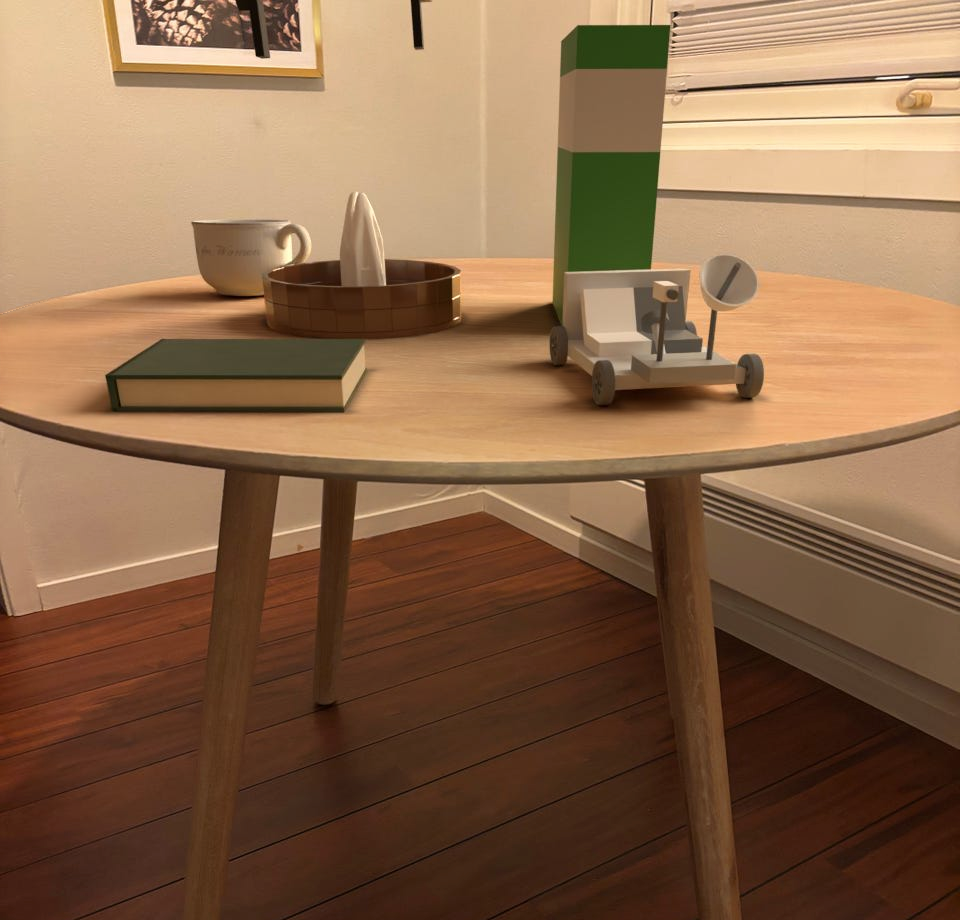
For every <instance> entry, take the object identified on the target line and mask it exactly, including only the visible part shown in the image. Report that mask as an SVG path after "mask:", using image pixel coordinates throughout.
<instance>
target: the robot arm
mask: <svg viewBox="0 0 960 920" xmlns="http://www.w3.org/2000/svg"><path fill="white" fill-rule="evenodd" d="M432 2H433V0H410V11H411V13H410V14H411V26H412V39H413V48H414V50H415V51H422V50H425V41H424V40H425V39H424V30H423V29H424V27H423V26H424V25H423V11H422V3H432ZM235 5H236V7H237V9H238V11H239V12H241V13H242V14H246V13H249V18H250V25H251V33H252V40H253V45H254V54H255V55H254V56H255V57H256V58H258V59H261V60H262V59H263V60H264V59H265V60H266V59H271V53H270V44H269V38H268V37H269V36H268V29H267V22H266V15H265V7H264V0H235Z"/></svg>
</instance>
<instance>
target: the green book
mask: <svg viewBox="0 0 960 920" xmlns="http://www.w3.org/2000/svg"><path fill="white" fill-rule="evenodd" d="M365 344H366V339H325V338H161V339H159V340H157V341H156V342H154V343H153V344H151V345H150V346H148V347H146V348H145V349H143V350H141V352H139V353H137V354H135V355H134V356H132V357H131V358H129V359H128V360H126V361H125V362H123V363H122V364H119V366H117V367H115V368H113V369H112V370H111V371H109V372H108V373H106V374H104V377H105V380H106V386H107V392H108V397H109V402H110V407H111V408H110V409H111V412H113V413H116V412H117V413H126V412H127V413H134V412H135V413H139V412H140V413H166V412H167V413H345V412H346V410H347V408H348V406H349V404H350V402H351V401H352V399H353V397H354V396H355V394H356V392H357V390H358V388H359V386H360V385H361V383H362V381H363V379H364V377H365V376H366V374H367V371H368V368H367V367H366V354H365V353H366V352H365Z"/></svg>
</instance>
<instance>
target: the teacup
mask: <svg viewBox="0 0 960 920" xmlns="http://www.w3.org/2000/svg"><path fill="white" fill-rule="evenodd" d="M190 223H191V224H190V225H191V227H192V230H193V238H194V246H195V254H196V260H197V266H198V270H199V274H200V276H201V278H202V279H203V281H204V282H205V283H206V284H207V285H209V286H210V287H212V288H213V289H214V291H215V292H216V293H217V294H219V295H223V296H235V297H237V296H238V297H253V296H254V297H255V296H256V297H257V296H264V293H263V284H262V273H264V272H266V271H267V270H270V269H273V268H277V267H281V266H287V265H292V264H299V263H306V261H307V260H308V258H309V256H310V254H311V251H312V240H311V236H310V233H309V232H308V230H307V229H306V228H305V227H304V226H303V225H300V224H298V223H292V222H291V220H288V219H286V220H285V219H199V220H191V222H190ZM292 234H295V235H296V236H297V238H298V240H299V246H300V247H299V251H298V253H297V254H296V256H295V257H294V258H293V248H292Z"/></svg>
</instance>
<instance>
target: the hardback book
mask: <svg viewBox="0 0 960 920" xmlns="http://www.w3.org/2000/svg"><path fill="white" fill-rule="evenodd" d="M671 25H672V24H577V25H576V26H575V27H574V28H573V29H572V30H571V31H570V32H569V33H568V34H567V35H566V36H565V37H564V38H563V39H562V40H561V41H560V61H559V63H560V65H559V94H558V95H559V96H558V97H559V98H558V122H557V123H558V124H557V125H558V126H557V127H558V129H557V154H556V155H557V157H556V181H555V182H556V184H555V185H556V186H555V213H554V214H555V215H554V217H555V218H554V244H553V246H554V247H553V275H552V305H553V309H554V311H555V314H556V315H557V318H558V321H559V324H560V326H562V322H563V295H564V272H583V271H617V270H651V269H652V263H653V262H652V261H653V251H654V250H653V249H654V237H655V224H656V212H657V200H658V199H657V198H658V187H659V175H660V163H661V151H662V150H661V149H662V138H663V137H662V136H663V124H664V112H665V99H666V89H667V88H666V86H667V75H668V62H669V52H670V51H669V50H670V49H669V48H670V37H671Z"/></svg>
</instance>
